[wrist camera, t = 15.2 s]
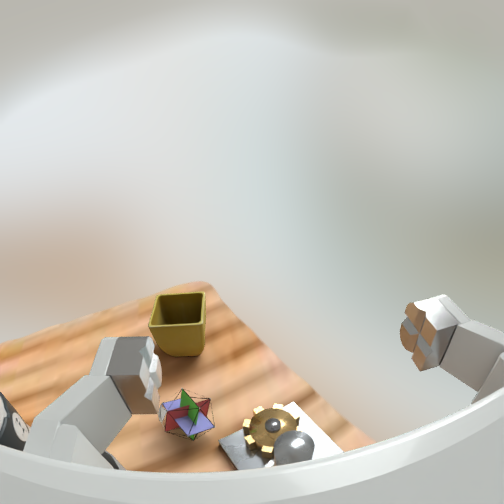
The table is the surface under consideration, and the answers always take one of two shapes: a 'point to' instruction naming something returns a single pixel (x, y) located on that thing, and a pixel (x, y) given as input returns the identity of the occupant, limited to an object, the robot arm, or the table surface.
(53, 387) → the table surface
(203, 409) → the geometric puzzle
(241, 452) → the carrier
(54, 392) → the table surface
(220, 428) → the table surface
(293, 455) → the gear
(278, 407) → the sun gear
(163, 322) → the flower pot
